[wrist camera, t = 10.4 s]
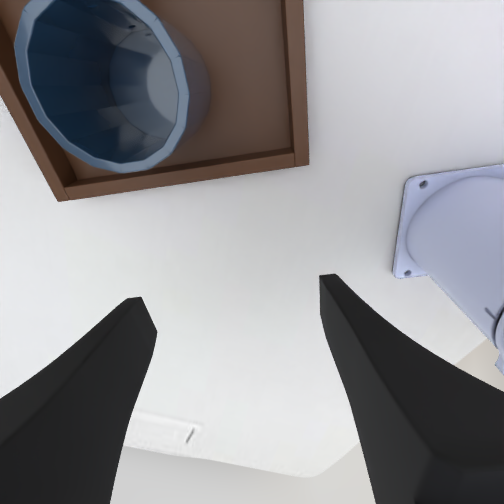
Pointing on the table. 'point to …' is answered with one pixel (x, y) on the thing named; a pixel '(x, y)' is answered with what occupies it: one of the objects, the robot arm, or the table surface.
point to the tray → (222, 99)
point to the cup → (111, 80)
